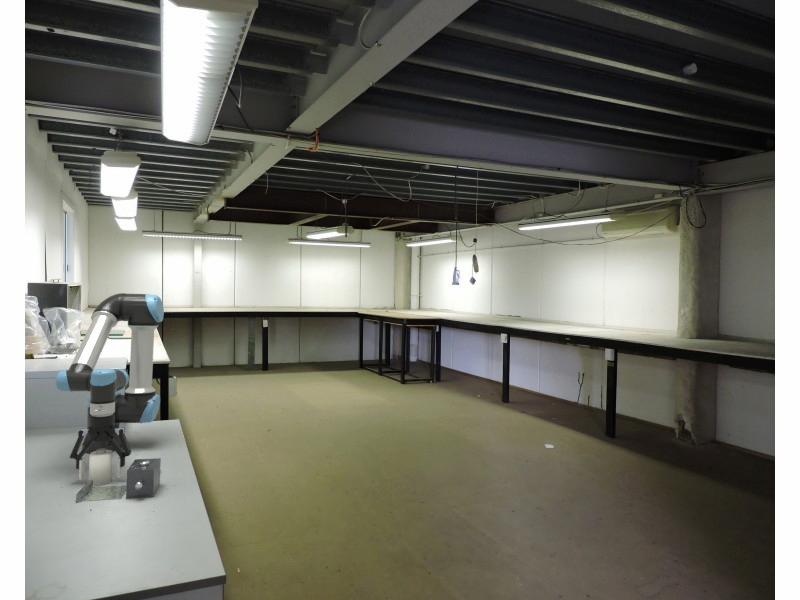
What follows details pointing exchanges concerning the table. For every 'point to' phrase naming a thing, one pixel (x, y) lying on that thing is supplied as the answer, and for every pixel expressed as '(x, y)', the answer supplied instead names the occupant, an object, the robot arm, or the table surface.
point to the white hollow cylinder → (100, 466)
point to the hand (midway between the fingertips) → (100, 476)
